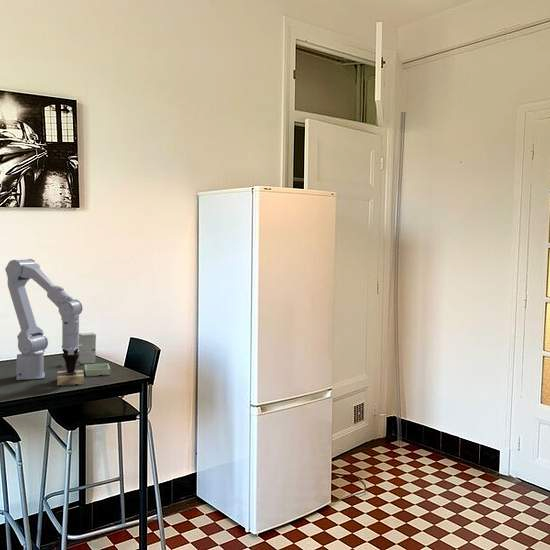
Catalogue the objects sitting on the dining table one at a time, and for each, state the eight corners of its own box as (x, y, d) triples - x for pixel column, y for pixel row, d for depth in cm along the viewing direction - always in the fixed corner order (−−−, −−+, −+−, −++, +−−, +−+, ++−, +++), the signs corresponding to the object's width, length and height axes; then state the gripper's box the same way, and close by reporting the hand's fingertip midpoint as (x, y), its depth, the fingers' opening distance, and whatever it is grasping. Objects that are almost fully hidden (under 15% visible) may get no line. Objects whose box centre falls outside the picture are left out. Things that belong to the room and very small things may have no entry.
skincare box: (81, 364, 241) (81, 335, 240) (78, 362, 245) (78, 333, 244) (96, 362, 245) (96, 334, 244) (93, 360, 249) (93, 332, 248)
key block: (57, 385, 209) (57, 377, 209) (57, 379, 217) (57, 371, 217) (83, 384, 212) (83, 375, 212) (83, 377, 220) (83, 370, 220)
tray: (85, 376, 222) (85, 369, 222) (84, 370, 231) (84, 364, 231) (110, 375, 226) (110, 368, 225) (108, 369, 234) (108, 363, 234)
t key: (61, 383, 212) (61, 365, 212) (61, 381, 215) (61, 363, 214) (79, 382, 214) (79, 364, 214) (79, 380, 217) (79, 363, 216)
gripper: (82, 336, 208) (82, 374, 209) (81, 329, 221) (81, 365, 222) (61, 337, 205) (61, 375, 206) (61, 330, 219) (61, 366, 220)
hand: (70, 370), depth 214 cm, fingers open, 7 cm apart
